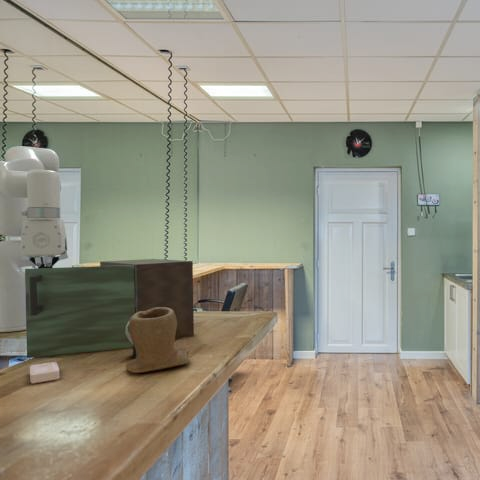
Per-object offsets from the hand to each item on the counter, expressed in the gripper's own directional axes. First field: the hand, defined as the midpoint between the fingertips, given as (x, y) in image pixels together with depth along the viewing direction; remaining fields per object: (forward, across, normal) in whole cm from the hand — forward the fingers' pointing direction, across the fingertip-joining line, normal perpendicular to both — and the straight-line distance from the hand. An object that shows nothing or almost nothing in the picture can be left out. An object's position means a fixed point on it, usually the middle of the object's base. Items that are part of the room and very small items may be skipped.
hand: (45, 280), depth 128 cm
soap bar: (+21, +6, -24) cm, 32 cm away
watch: (+21, +26, -12) cm, 35 cm away
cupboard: (+21, +24, +16) cm, 35 cm away
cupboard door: (+21, +10, -5) cm, 23 cm away
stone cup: (+21, +31, -27) cm, 46 cm away
